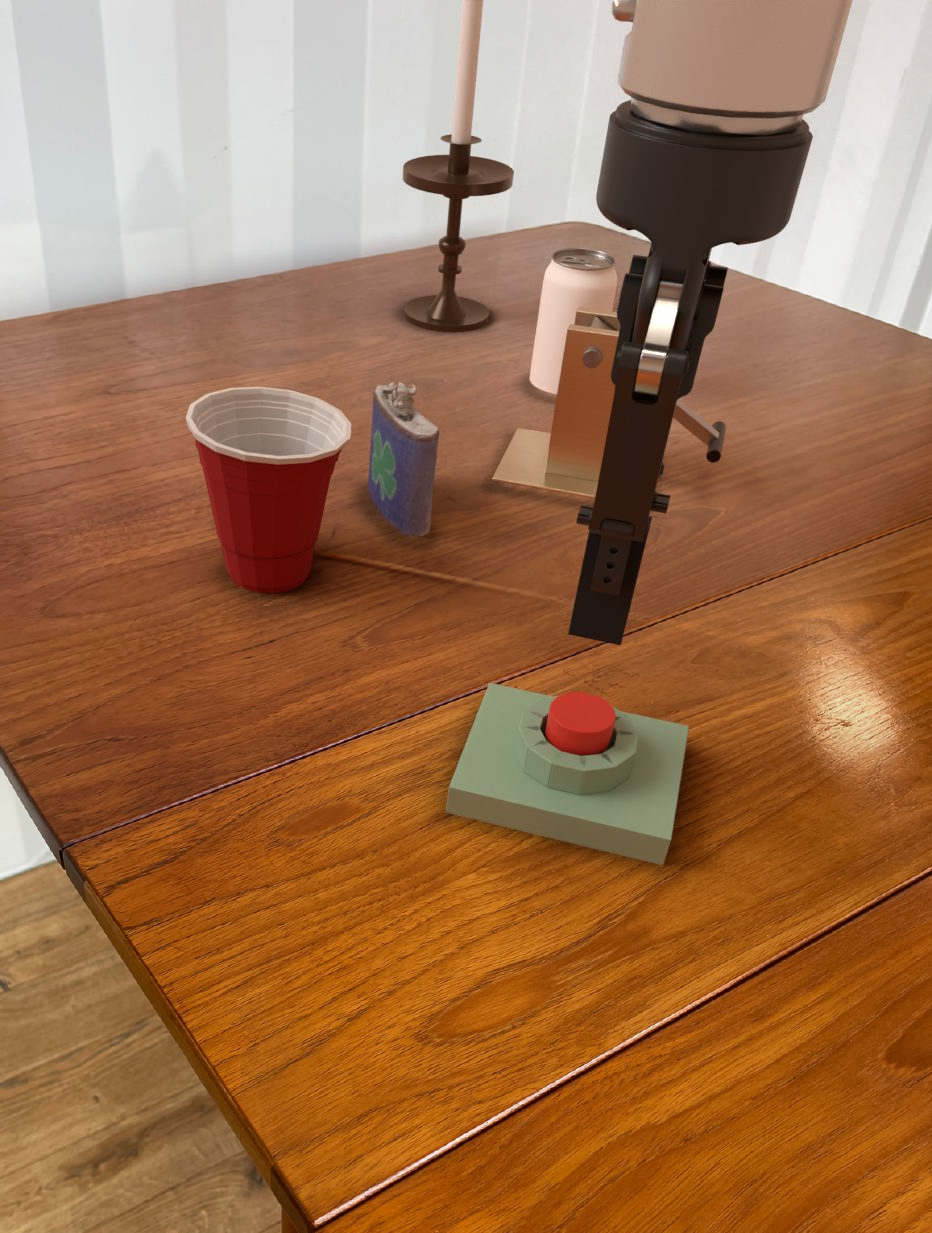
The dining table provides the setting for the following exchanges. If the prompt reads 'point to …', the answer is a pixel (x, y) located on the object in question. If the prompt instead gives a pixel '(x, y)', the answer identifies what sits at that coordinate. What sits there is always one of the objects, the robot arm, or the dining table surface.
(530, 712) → the button block
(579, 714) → the button
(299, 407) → the plastic cup
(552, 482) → the bracket
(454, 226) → the candlestick
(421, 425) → the flask
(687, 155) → the robot arm
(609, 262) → the can
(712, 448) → the lever
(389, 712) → the dining table surface
